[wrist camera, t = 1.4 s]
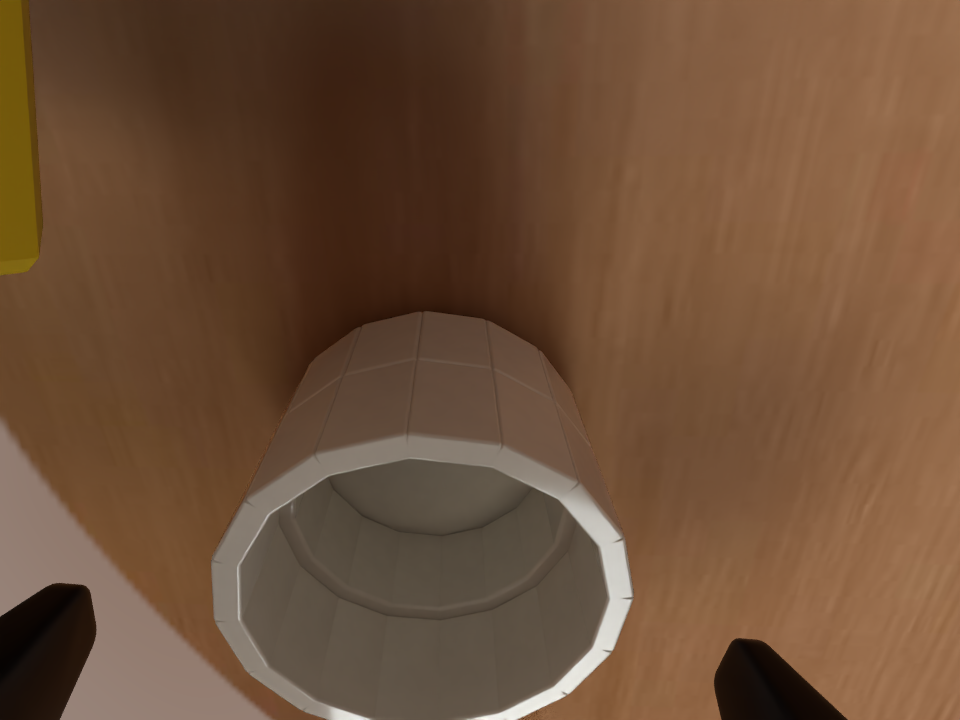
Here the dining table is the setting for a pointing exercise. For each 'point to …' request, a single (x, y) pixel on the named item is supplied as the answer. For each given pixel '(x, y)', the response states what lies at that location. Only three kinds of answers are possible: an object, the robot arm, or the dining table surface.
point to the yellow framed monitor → (18, 143)
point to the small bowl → (424, 533)
